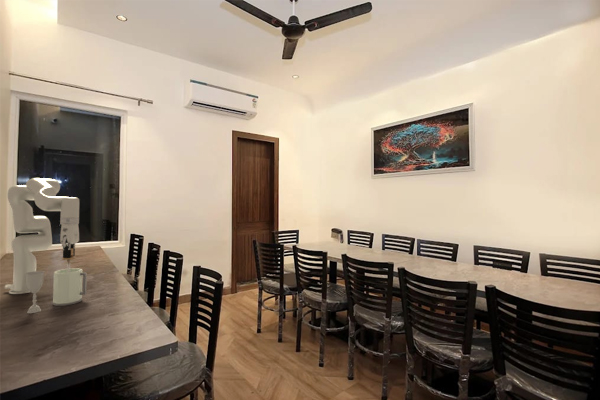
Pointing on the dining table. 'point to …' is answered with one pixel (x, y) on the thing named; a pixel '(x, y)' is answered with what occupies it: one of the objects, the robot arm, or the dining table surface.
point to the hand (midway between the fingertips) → (68, 256)
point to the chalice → (34, 287)
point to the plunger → (69, 260)
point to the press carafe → (68, 286)
